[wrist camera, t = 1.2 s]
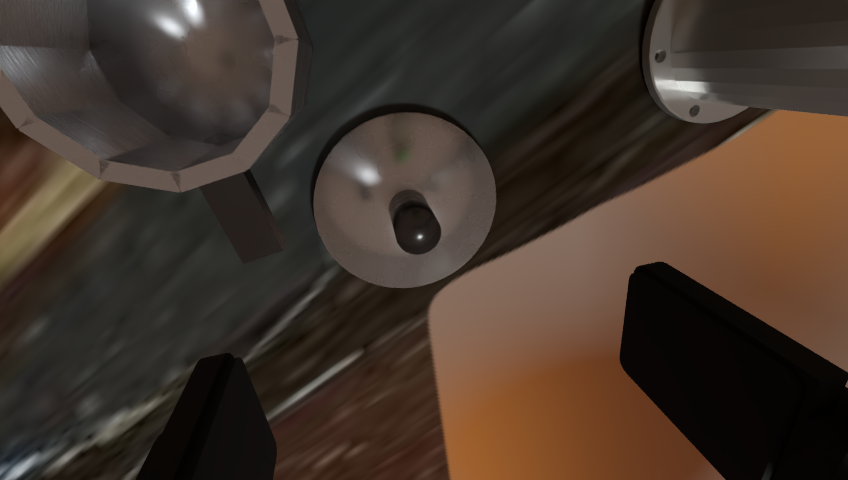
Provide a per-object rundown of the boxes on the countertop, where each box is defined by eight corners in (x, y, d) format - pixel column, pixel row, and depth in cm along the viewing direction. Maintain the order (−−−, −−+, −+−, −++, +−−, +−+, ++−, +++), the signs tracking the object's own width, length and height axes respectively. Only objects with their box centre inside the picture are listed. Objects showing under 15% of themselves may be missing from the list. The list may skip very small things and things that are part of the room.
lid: (469, 85, 28) (498, 89, 22) (506, 250, 34) (536, 285, 29) (282, 147, 27) (266, 167, 22) (353, 303, 33) (354, 349, 28)
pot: (-57, -166, 19) (-312, -312, 11) (204, -243, 19) (118, -428, 12) (197, 243, 29) (147, 302, 21) (365, 186, 29) (371, 226, 22)
